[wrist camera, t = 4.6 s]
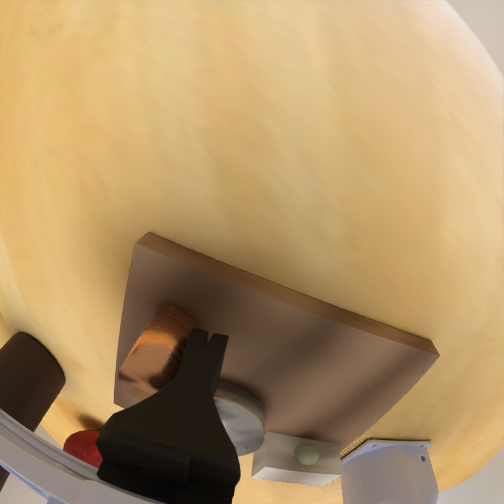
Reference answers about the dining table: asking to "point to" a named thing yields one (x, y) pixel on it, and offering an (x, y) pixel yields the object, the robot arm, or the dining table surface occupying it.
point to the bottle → (27, 383)
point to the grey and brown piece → (166, 367)
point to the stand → (279, 355)
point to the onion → (84, 447)
